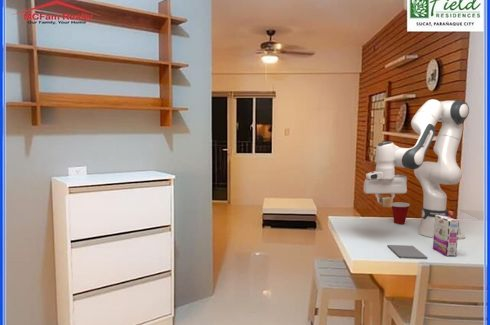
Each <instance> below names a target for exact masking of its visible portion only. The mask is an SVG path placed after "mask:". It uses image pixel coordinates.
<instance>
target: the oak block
mask: <svg viewBox="0 0 490 325" xmlns="http://www.w3.org/2000/svg"><path fill="white" fill-rule="evenodd" d="M378 197H379V198H380V199H381V202H379V203H378V204H379V205H381V207H383V208H392V203H393V202H392V199H391V197H390V196H389V195H387V194H385V195H384V194H383V195H382V194H379V196H378Z"/></svg>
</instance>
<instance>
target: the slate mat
mask: <svg viewBox="0 0 490 325" xmlns="http://www.w3.org/2000/svg"><path fill="white" fill-rule="evenodd" d="M386 247H388V249H390V250H391V252H393V253H394V254H395V255H396V257H398V258H399V259H413V260H414V259H416V260H417V259H418V260H419V259H420V260H428V257H427V256H426V255H425V254H424V253H423V252H421V251H420V250H419V249H418V248H416V247H415V246H414V245H406V244H405V245H399V244H387V246H386Z"/></svg>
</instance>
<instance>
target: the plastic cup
mask: <svg viewBox="0 0 490 325" xmlns="http://www.w3.org/2000/svg"><path fill="white" fill-rule="evenodd" d="M410 205H411V204H410V203H408V202H403V201H402V202H399V201H398V202H392V207H391V209H392V210H391V211H392V216H393V223H394V224H395V225H405V224H406V219H407V216H408V212H409V208H410Z"/></svg>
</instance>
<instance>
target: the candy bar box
mask: <svg viewBox="0 0 490 325" xmlns="http://www.w3.org/2000/svg"><path fill="white" fill-rule="evenodd" d="M459 226H460V221H459V220H458V219H456V218H452V217H450V216H449V217H447V216H445V215H435V226H434V238H433V242H432V249H433V250H434V251H436V252H438V253H440V254H442V255H443V256H446V257H457V248H458V240H459V239H458V228H459Z"/></svg>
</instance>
